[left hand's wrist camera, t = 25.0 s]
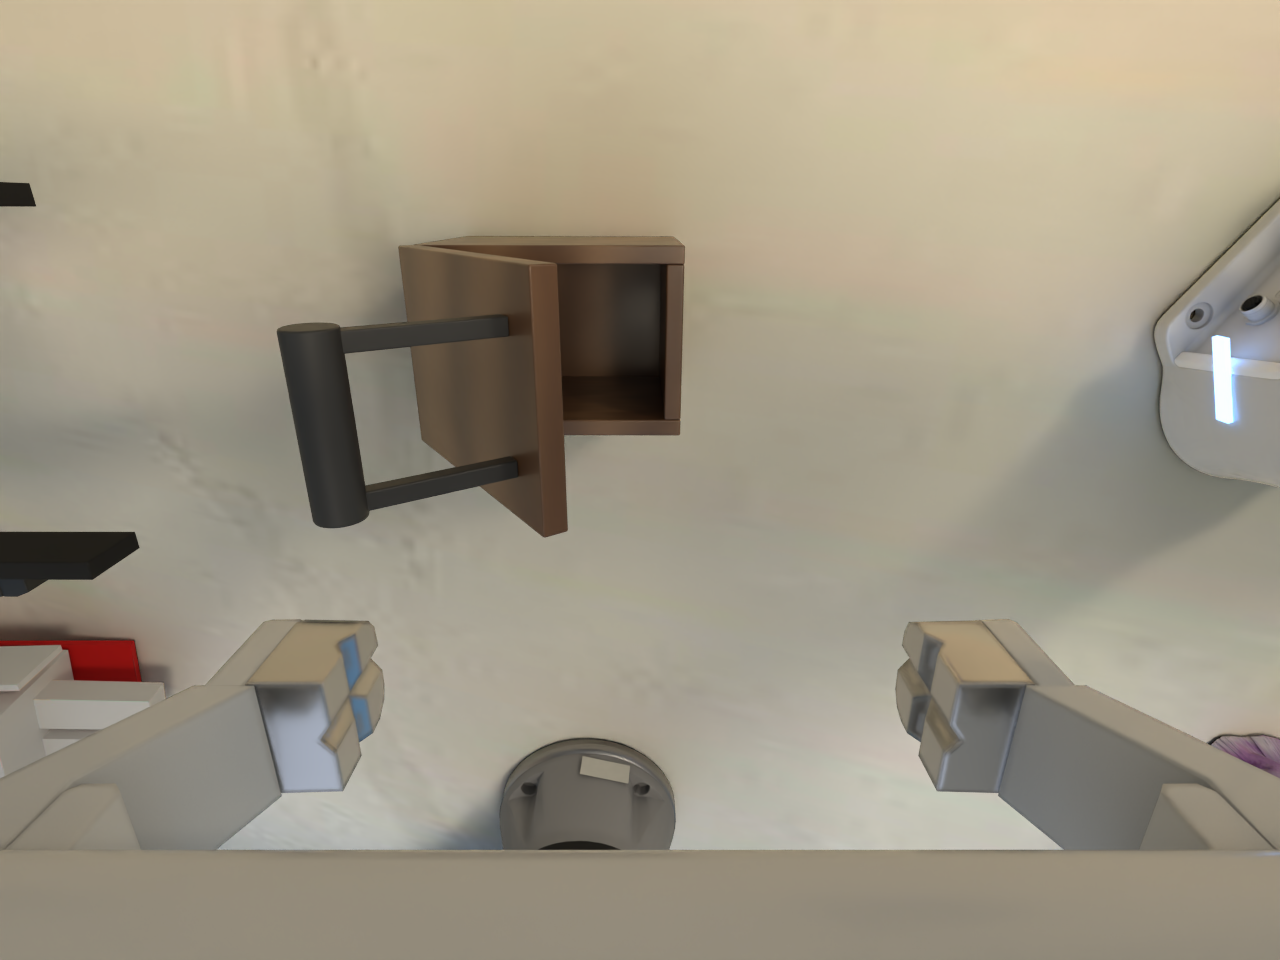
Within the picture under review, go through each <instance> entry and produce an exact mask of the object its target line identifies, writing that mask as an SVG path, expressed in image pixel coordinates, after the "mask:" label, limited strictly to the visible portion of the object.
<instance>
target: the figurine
mask: <svg viewBox="0 0 1280 960" xmlns="http://www.w3.org/2000/svg"><path fill="white" fill-rule="evenodd" d="M1211 746H1213V747H1215V748H1217V749H1219V750H1222V751H1224V752H1226V753H1228V754H1230V755H1232V756H1234V757H1236V758H1238V759H1240V760H1242V761H1244V762H1247V763H1249V764H1251V765H1253V766H1255V767H1257V768H1259V769H1261V770H1263V771H1265V772H1267V773H1269V774H1272V775H1274V776H1276V777H1278V778H1280V739H1277V738H1274V737H1268V736H1265V735H1261V736H1247V737H1237V736H1223V737H1221V738H1220V739H1216V741H1214V743H1212V745H1211Z"/></svg>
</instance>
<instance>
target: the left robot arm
mask: <svg viewBox="0 0 1280 960" xmlns="http://www.w3.org/2000/svg"><path fill="white" fill-rule="evenodd" d="M1194 310H1195V315H1194V317H1193V318H1192V319H1190V315H1191V313H1192V312H1193V311H1194ZM1154 338H1155V343H1156V347H1157V351H1158V354H1159V357H1160V360H1161V363H1162V365H1163V378H1162V385H1161V393H1160V419H1161V425H1162V429H1163V432H1164V435H1165V437H1166V439H1167V441H1168V443H1169V445H1170V447H1171V448H1172V450H1173V451H1174V452H1175V453H1176V455H1177V456H1178V457H1179V458H1180V459H1181V460H1182V461H1184V462H1185V463H1186V464H1187V465H1189V466H1190V467H1192V468H1194V469H1195V470H1198V471H1200V472H1202V473H1205V474H1207V475H1211V476H1215V477H1220V478H1228V479H1239V480H1247V481H1252V482H1258V483H1263V484H1267V485H1271V486H1275V487H1279V488H1280V199H1279V200H1278V201H1277V202H1276V203H1275V204H1274V205H1273V206H1272V207H1271V208H1270V209H1269V210H1268V211H1267V212H1266V213H1265V214H1264V215H1263V216H1262V217H1261V218H1260V219H1259V220H1258V221H1257V222H1256V223H1255V224H1254V225H1253V226H1252V227H1251V228H1250V229H1249V230H1248V231H1247V232H1246V233H1245V234H1244V235H1243V236H1242V237H1241V238H1240V239H1239V240H1238V241H1237V242H1236V243H1235V244H1234V245H1233V246H1232V247H1231V248H1230V249H1229V250H1228V251H1227V252H1226V253H1225V254H1224V255H1223V256H1222V257H1221V258H1220V259H1219V260H1218V261H1217V262H1216V263H1215V264H1214V265H1213V266H1212V267H1211V268H1210V269H1209V270H1208V271H1207V272H1206V273H1205V274H1204V275H1203V276H1202V277H1201V278H1200V279H1199V280H1198V281H1197V282H1196V283H1195V284H1194V285H1193V286H1192V287H1191V288H1190V289H1189V290H1188V291H1187V292H1186V293H1185V294H1184V295H1183V296H1182V297H1181V298H1180V299H1179V300H1178V301H1177V302H1176V303H1175V304H1174V305H1173V306H1172V307H1171V308H1170V309H1169V310H1168V311H1167V312H1166V313H1165V314H1164V315H1163V316H1162V317H1161V318H1160V319H1159V321H1158V322H1157V324H1156V327H1155V332H1154ZM377 646H378V643H377V638H376V633H375V628H374V626H373V625H372V624H371V623H370V622H369V621H345V620H300V619H286V620H269V621H265V622H263V623H262V624H261V625H260V626H259V627H258V629H257V630H256V631H255V632H254V633H253V634H252V635H251V636H250V637H249V638H248V639H247V640H246V641H245V643H244V644H243V645H242V646H241V647H240V648H239V649H238V650H237V651H236V652H235V653H234V654H233V656H232V657H231V658H230V659H229V660H228V661H227V662H226V663H225V664H224V665H223V666H222V667H221V669H220V670H219V671H218V672H217V673H216V674H215V675H214V676H213V677H212V678H211V679H210V680H209V682H208V683H207V684H206V685H198V686H192V687H190V688H188V689H186V690H184V691H181V692H179V693H177V694H175V695H173V696H171V697H169V698H167V699H165V700H163V701H161V702H158V703H156V704H154V705H152V706H150V707H148V708H146V709H144V710H142V711H140V712H138V713H135V714H133V715H131V716H129V717H127V718H125V719H123V720H121V721H119V722H117V723H115V724H112V725H110V726H108V727H106V728H104V729H102V730H100V731H98V732H96V733H94V734H92V735H89V736H87V737H85V738H83V739H81V740H79V741H77V742H75V743H73V744H71V745H69V746H66V747H64V748H62V749H60V750H58V751H56V752H54V753H52V754H50V755H48V756H46V757H43V758H41V759H39V760H37V761H35V762H33V763H31V764H29V765H27V766H25V767H23V768H20V769H18V770H16V771H14V772H12V773H10V774H8V775H6V776H4V777H2V778H0V960H1280V778H1278V777H1276V776H1274V775H1272V774H1269V773H1267V772H1265V771H1263V770H1261V769H1259V768H1257V767H1255V766H1253V765H1251V764H1249V763H1247V762H1244V761H1242V760H1240V759H1238V758H1236V757H1234V756H1232V755H1230V754H1228V753H1226V752H1224V751H1222V750H1219V749H1217V748H1215V747H1213V746H1211V745H1209V744H1207V743H1205V742H1203V741H1201V740H1199V739H1197V738H1194V737H1192V736H1190V735H1188V734H1186V733H1184V732H1182V731H1180V730H1178V729H1176V728H1174V727H1171V726H1169V725H1167V724H1165V723H1163V722H1161V721H1159V720H1157V719H1155V718H1153V717H1151V716H1149V715H1146V714H1144V713H1142V712H1140V711H1138V710H1136V709H1134V708H1132V707H1130V706H1128V705H1126V704H1124V703H1121V702H1119V701H1117V700H1115V699H1113V698H1111V697H1109V696H1107V695H1105V694H1103V693H1101V692H1099V691H1096V690H1094V689H1092V688H1090V687H1088V686H1082V685H1074V684H1073V683H1072V682H1071V680H1070V679H1069V678H1068V677H1067V676H1066V675H1065V674H1064V673H1063V672H1062V671H1061V670H1060V669H1059V667H1058V666H1057V665H1056V664H1055V663H1054V662H1053V661H1052V660H1051V659H1050V658H1049V657H1048V656H1047V654H1046V653H1045V652H1044V651H1043V650H1042V649H1041V648H1040V647H1039V646H1038V645H1037V644H1036V643H1035V641H1034V640H1033V639H1032V638H1031V637H1030V636H1029V635H1028V634H1027V633H1026V632H1025V631H1024V630H1023V628H1022V627H1021V626H1020V625H1019V624H1018V623H1017V622H1014V621H1012V620H1010V619H995V620H975V621H934V622H909V623H908V625H907V627H906V629H905V631H904V637H903V642H902V646H903V648H904V650H905V651H906V653H907V655H908V656H909V659H908V660H907V661H906V662H905V663H904V664H903V665H902V666H901V667H900V668H899V669H898V672H897V680H896V688H895V690H896V701H897V709H898V712H899V716H900V719H901V722H902V724H903V726H904V728H905V730H906V732H907V733H908V734H909V735H911V736H912V737H914V738H915V739H917V740H918V741H920V742H921V745H920V750H919V757H920V759H921V761H922V763H923V765H924V767H925V769H926V771H927V773H928V775H929V777H930V778H931V780H932V782H933V784H934V786H935V788H936V790H937V791H948V792H984V793H999V794H998V796H999V797H1000V798H1002V799H1003V800H1004V801H1005V802H1007V803H1008V804H1009V805H1010V806H1011V807H1013V808H1014V809H1015V810H1016V811H1017V812H1019V813H1020V814H1021V815H1022V816H1024V817H1025V818H1026V819H1027V820H1028V821H1030V822H1031V823H1032V824H1033V825H1035V826H1036V827H1037V828H1038V829H1039V830H1041V831H1042V832H1043V833H1044V834H1046V835H1047V836H1048V837H1049V838H1050V839H1052V840H1053V841H1054V842H1055V843H1057V844H1058V845H1059V846H1060V847H1061V848H1063V849H1064V850H216V849H218V848H219V847H220V846H221V845H222V844H224V843H225V842H226V841H227V840H229V839H230V838H231V837H232V836H233V835H235V834H236V833H237V832H238V831H240V830H241V829H242V828H243V827H244V826H246V825H247V824H248V823H249V822H251V821H252V820H253V819H254V818H255V817H257V816H258V815H259V814H260V813H262V812H263V811H264V810H265V809H266V808H268V807H269V806H270V805H271V804H273V803H274V802H275V801H276V800H277V799H279V798H280V797H281V793H296V792H331V791H343V790H344V788H345V786H346V784H347V782H348V781H349V779H350V777H351V775H352V773H353V771H354V769H355V767H356V765H357V763H358V761H359V759H360V757H361V750H360V745H359V742H360V741H362V740H363V739H365V738H366V737H368V736H369V735H371V734H372V733H373V732H374V730H375V728H376V726H377V723H378V721H379V719H380V716H381V711H382V707H383V702H384V679H383V672H382V669H381V668H380V667H379V666H378V665H377V664H376V663H375V662H374V661H373V660H372V659H371V656H372V655H373V653H374V651H375V650H376V648H377Z"/></svg>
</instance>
